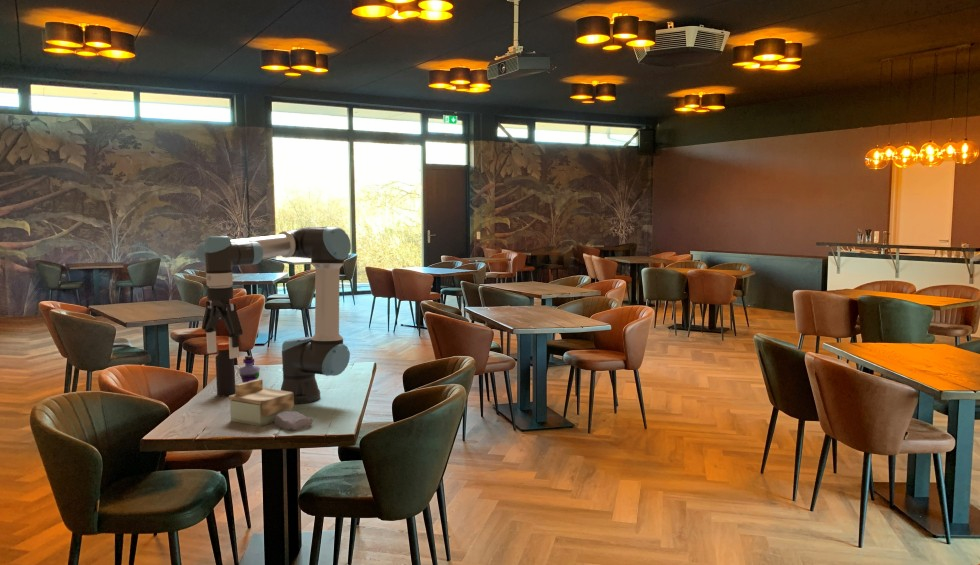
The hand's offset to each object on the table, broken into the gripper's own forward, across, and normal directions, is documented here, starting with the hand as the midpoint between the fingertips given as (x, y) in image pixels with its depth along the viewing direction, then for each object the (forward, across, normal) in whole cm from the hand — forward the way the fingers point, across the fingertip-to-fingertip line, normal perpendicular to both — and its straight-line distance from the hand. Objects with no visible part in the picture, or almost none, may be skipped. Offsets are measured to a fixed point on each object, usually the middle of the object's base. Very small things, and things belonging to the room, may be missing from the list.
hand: (222, 355), depth 220 cm
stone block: (+26, +5, +21) cm, 34 cm away
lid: (+22, -10, +19) cm, 31 cm away
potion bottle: (+26, -60, +43) cm, 79 cm away
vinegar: (+26, -52, +28) cm, 65 cm away
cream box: (+26, -10, +18) cm, 33 cm away
